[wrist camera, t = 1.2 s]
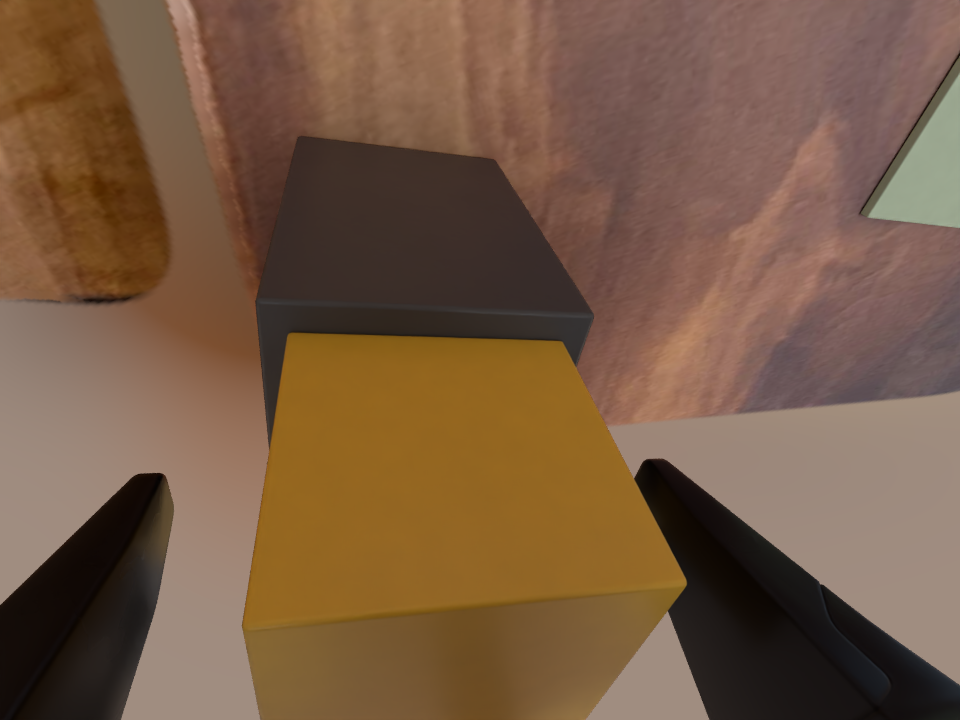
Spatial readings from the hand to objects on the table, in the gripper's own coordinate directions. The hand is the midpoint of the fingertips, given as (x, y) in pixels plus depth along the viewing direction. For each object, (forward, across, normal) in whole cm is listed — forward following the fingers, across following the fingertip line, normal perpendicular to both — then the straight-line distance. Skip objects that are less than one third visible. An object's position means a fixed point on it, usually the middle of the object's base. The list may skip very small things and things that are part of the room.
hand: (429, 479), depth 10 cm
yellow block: (+1, 0, 0) cm, 1 cm away
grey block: (+10, 0, 0) cm, 10 cm away
